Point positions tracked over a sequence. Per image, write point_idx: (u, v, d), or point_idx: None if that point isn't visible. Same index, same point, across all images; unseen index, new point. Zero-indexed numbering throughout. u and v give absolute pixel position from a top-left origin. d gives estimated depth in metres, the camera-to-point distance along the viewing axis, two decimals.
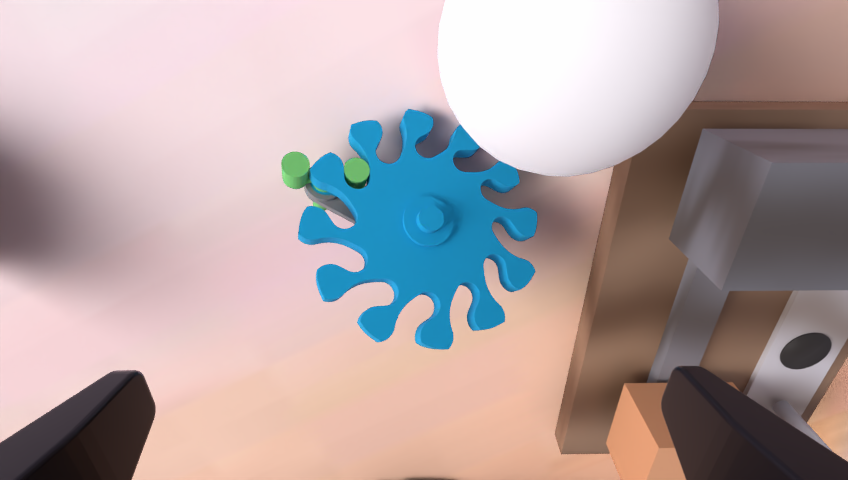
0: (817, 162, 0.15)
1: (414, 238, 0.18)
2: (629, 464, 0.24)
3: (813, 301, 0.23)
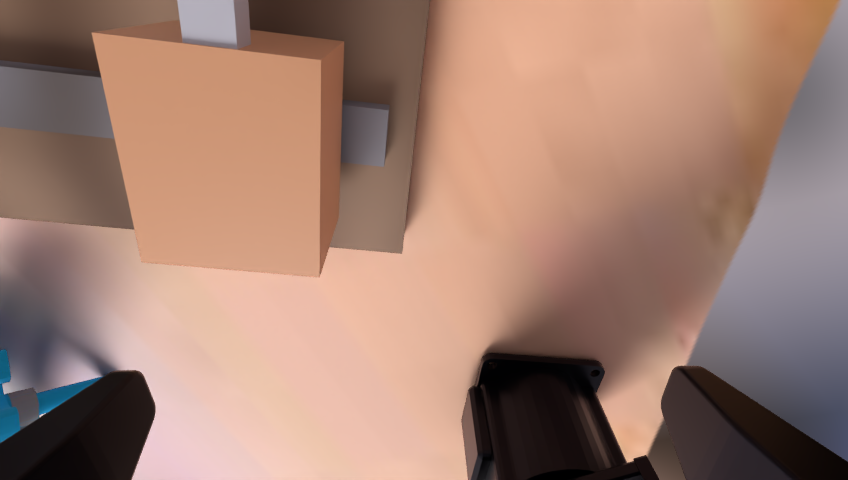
0: None
1: None
2: None
3: None
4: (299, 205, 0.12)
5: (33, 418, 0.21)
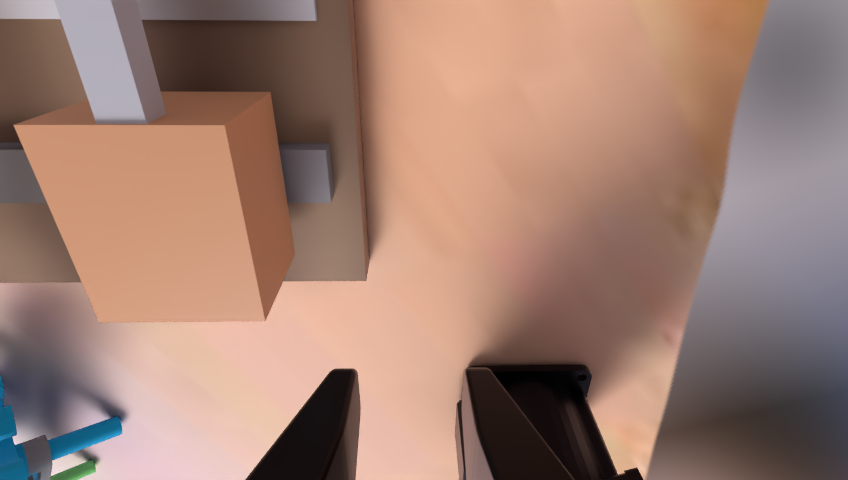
0: None
1: None
2: None
3: None
4: (233, 257, 0.13)
5: (46, 464, 0.22)
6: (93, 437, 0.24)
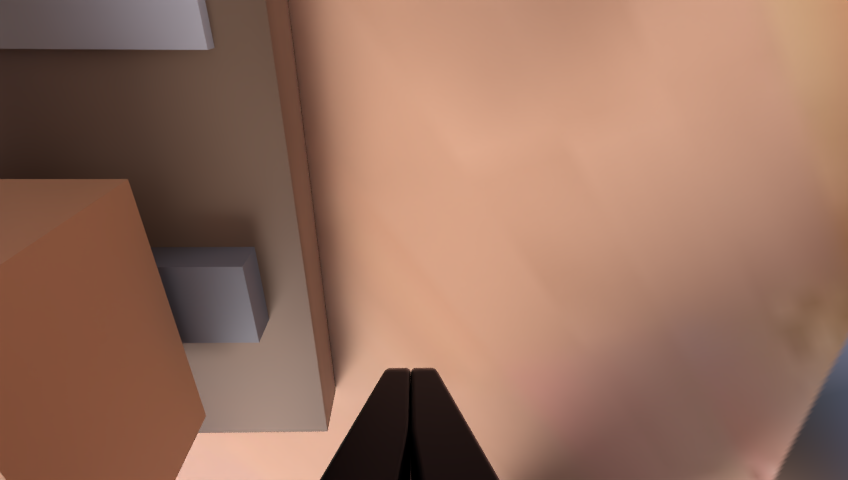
0: None
1: None
2: None
3: None
4: None
5: None
6: None
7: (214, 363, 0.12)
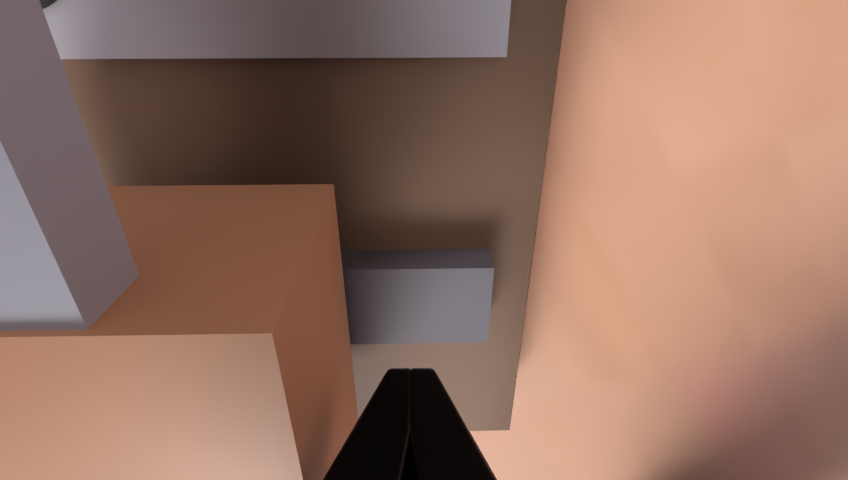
0: None
1: None
2: None
3: None
4: None
5: None
6: None
7: (417, 363, 0.12)
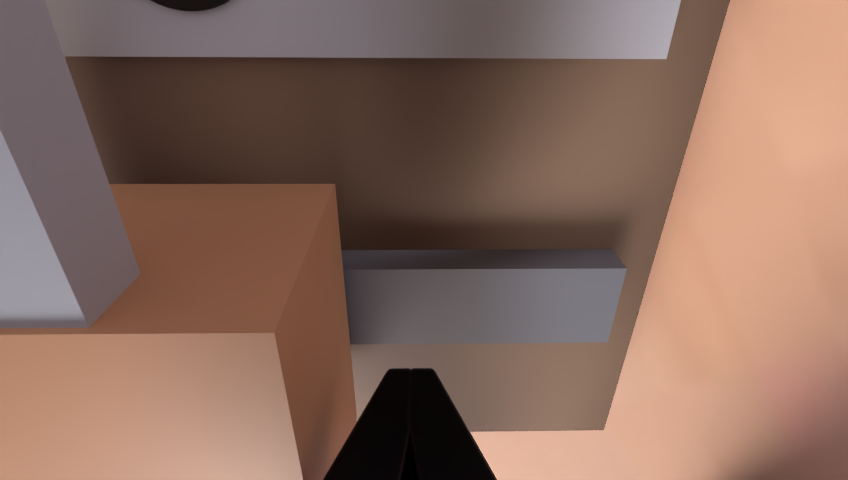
0: None
1: None
2: None
3: None
4: None
5: None
6: None
7: (523, 363, 0.12)
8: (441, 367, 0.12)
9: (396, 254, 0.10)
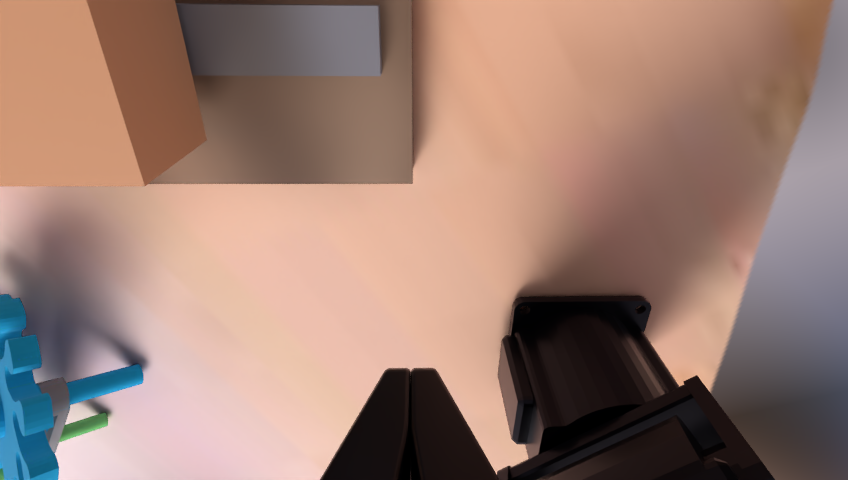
0: None
1: None
2: None
3: None
4: (93, 95, 0.10)
5: (64, 408, 0.20)
6: (113, 384, 0.22)
7: (337, 114, 0.16)
8: (277, 117, 0.16)
9: (222, 3, 0.14)
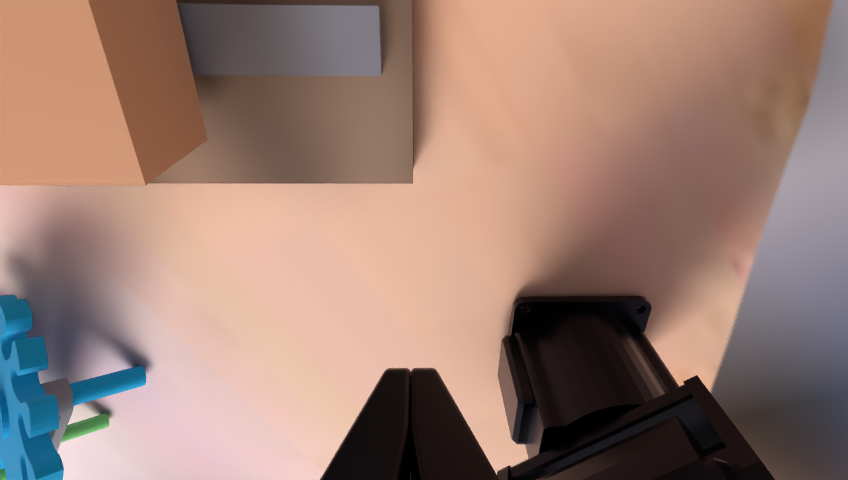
0: None
1: None
2: None
3: None
4: (94, 94, 0.11)
5: (67, 409, 0.20)
6: (116, 385, 0.22)
7: (338, 114, 0.16)
8: (277, 117, 0.16)
9: (223, 3, 0.14)
